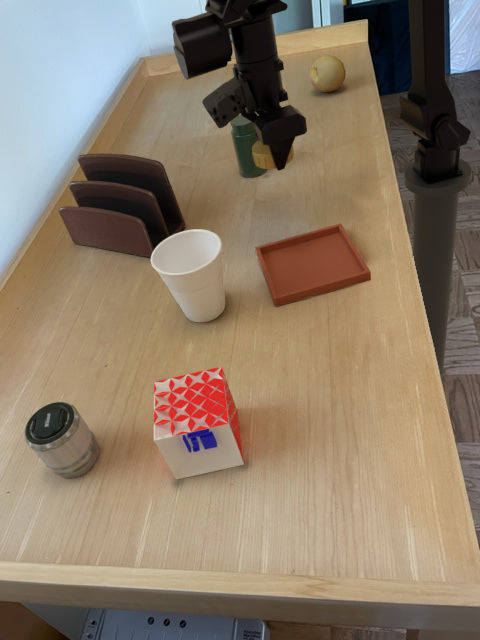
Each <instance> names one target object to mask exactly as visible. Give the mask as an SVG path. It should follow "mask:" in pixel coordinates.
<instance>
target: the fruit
mask: <svg viewBox="0 0 480 640" xmlns="http://www.w3.org/2000/svg"><path fill="white" fill-rule="evenodd" d="M346 71H347V70H346V69H345V65H344V62H342V60H341V59H339V58H338V57H337V56H335V55H330V54H326V55H322V56H320V57H317V58H316V59H315V61H314V63H313V64H312V66H311V69H310V71H309V80H310V83H311V85H312V87H313V88H314V89H316V90H317V91H319V92H320V93H321V92H322V93H331V92H334V91H335V90H338V89H340V88H341V86H342V85H343V83H344V81H345V80H346V75H347V74H346Z"/></svg>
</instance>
